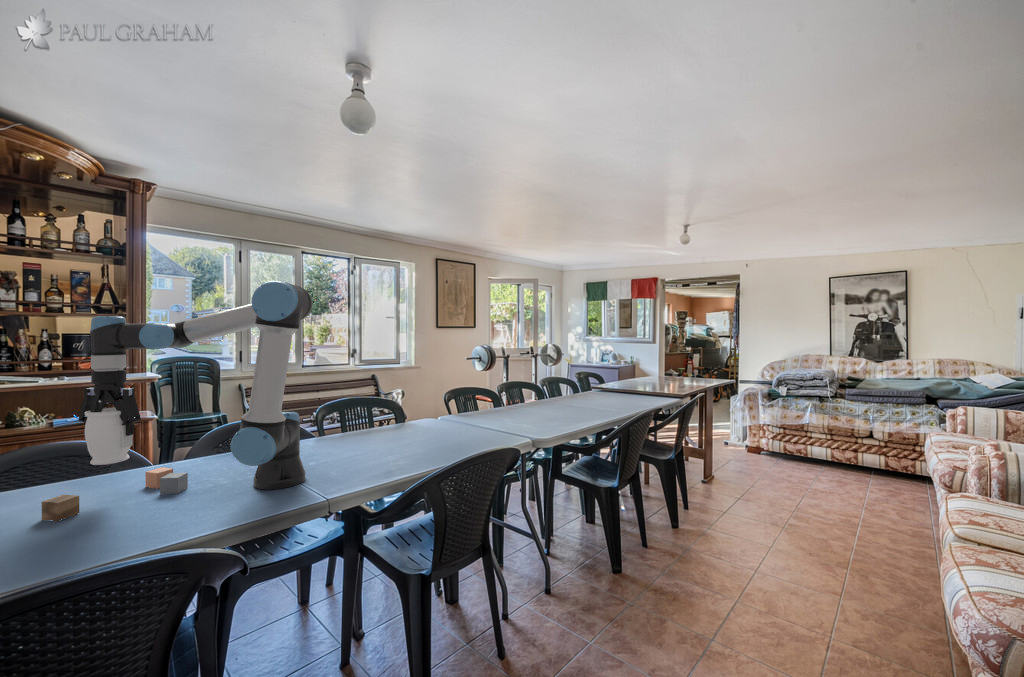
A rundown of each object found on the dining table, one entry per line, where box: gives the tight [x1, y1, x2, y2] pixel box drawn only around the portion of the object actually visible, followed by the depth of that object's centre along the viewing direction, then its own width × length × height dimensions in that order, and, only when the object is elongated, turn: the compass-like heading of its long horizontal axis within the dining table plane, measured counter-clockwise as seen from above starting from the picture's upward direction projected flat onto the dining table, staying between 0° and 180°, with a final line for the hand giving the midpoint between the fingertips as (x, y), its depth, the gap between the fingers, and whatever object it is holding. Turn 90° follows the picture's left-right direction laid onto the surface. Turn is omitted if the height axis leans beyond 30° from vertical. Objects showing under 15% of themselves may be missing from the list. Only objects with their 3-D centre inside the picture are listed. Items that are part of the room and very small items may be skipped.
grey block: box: [159, 472, 189, 495], centre depth 137 cm, size 5×5×5 cm
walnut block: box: [41, 494, 80, 522], centre depth 118 cm, size 5×5×5 cm
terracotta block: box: [145, 466, 174, 490], centre depth 142 cm, size 5×5×5 cm
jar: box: [84, 407, 132, 466], centre depth 128 cm, size 11×10×15 cm
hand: (110, 446), depth 128 cm, fingers closed on jar, 10 cm apart
